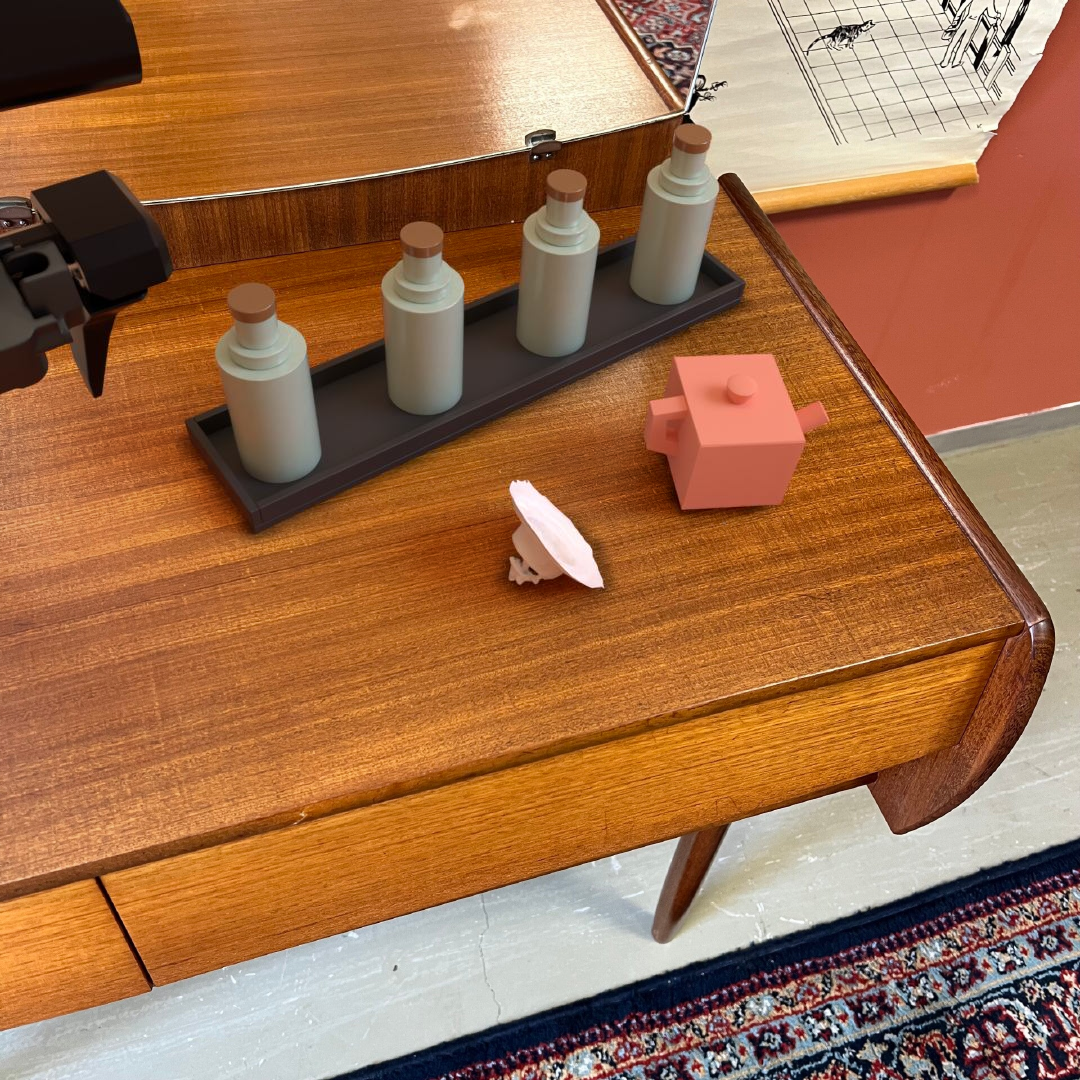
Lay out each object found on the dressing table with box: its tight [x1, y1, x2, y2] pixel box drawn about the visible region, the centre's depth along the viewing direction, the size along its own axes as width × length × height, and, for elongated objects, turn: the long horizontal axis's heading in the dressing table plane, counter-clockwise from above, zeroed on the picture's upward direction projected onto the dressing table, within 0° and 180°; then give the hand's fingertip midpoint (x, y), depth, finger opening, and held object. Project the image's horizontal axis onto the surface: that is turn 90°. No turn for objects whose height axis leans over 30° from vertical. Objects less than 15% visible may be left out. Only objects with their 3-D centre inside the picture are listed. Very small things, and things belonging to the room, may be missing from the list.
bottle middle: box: [516, 168, 601, 357], centre depth 70 cm, size 5×5×13 cm
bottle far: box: [629, 123, 720, 305], centre depth 74 cm, size 5×5×13 cm
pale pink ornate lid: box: [508, 479, 605, 589], centre depth 61 cm, size 8×5×8 cm
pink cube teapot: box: [643, 353, 830, 511], centre depth 65 cm, size 8×12×8 cm, turn 97°
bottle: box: [214, 282, 321, 483], centre depth 61 cm, size 5×5×13 cm
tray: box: [184, 233, 747, 534], centre depth 72 cm, size 42×9×2 cm, turn 127°
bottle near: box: [380, 221, 465, 415], centre depth 66 cm, size 5×5×13 cm
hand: (2, 428), depth 49 cm, fingers open, 9 cm apart
